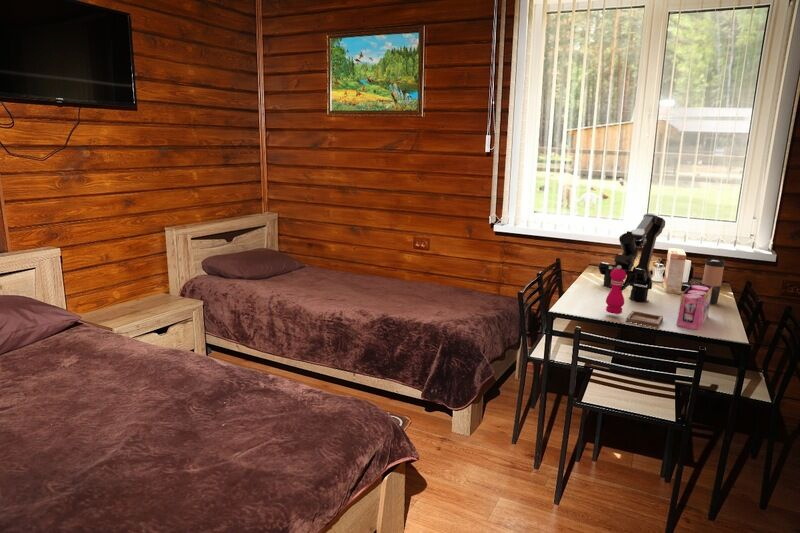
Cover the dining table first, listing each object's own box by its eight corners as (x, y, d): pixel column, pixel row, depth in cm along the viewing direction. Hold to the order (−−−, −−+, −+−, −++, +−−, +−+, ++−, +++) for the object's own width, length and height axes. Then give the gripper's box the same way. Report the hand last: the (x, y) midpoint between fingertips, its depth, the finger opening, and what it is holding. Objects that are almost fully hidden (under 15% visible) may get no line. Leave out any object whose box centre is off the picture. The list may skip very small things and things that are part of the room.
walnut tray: (631, 314, 235) (632, 310, 235) (662, 320, 229) (663, 316, 229) (625, 322, 225) (626, 317, 225) (657, 328, 219) (658, 324, 219)
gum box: (697, 331, 217) (702, 298, 214) (675, 326, 222) (680, 294, 219) (708, 317, 236) (713, 286, 233) (687, 313, 241) (692, 282, 237)
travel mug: (717, 301, 259) (724, 259, 255) (718, 305, 253) (726, 262, 248) (698, 298, 263) (705, 257, 258) (699, 303, 256) (706, 260, 251)
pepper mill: (624, 315, 228) (630, 267, 224) (606, 313, 230) (611, 266, 225) (621, 309, 235) (627, 263, 230) (603, 308, 237) (608, 262, 232)
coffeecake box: (662, 284, 286) (668, 247, 281) (678, 286, 283) (683, 249, 279) (664, 292, 272) (670, 253, 268) (680, 294, 270) (686, 254, 265)
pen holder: (598, 284, 283) (600, 265, 280) (612, 282, 287) (614, 264, 284) (612, 289, 275) (615, 269, 272) (626, 287, 278) (629, 268, 276)
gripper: (602, 243, 235) (589, 273, 229) (648, 250, 223) (636, 282, 218) (607, 258, 243) (594, 288, 237) (652, 266, 231) (640, 297, 225)
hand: (615, 288), depth 229 cm, fingers closed on pepper mill, 5 cm apart
